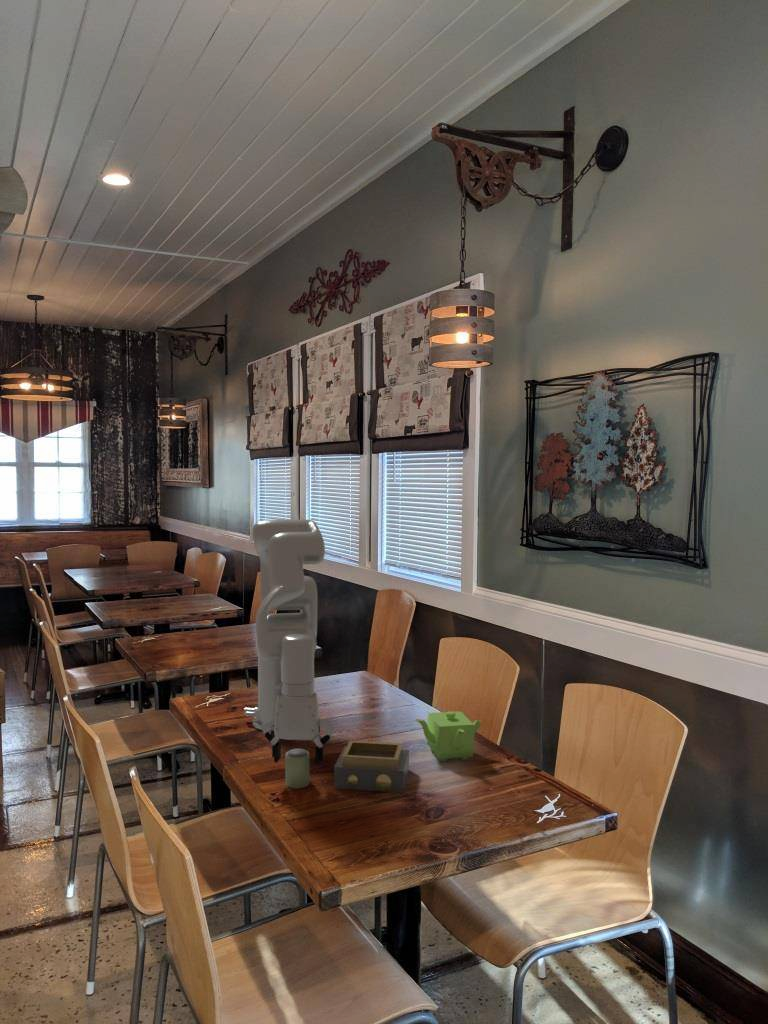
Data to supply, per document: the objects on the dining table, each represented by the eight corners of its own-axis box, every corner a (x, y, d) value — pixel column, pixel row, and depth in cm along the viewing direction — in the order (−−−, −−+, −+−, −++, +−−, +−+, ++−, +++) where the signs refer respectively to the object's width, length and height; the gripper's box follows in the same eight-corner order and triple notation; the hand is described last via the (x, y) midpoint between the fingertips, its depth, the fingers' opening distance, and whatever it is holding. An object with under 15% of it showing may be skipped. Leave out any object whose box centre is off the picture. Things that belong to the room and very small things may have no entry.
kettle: (462, 771, 183) (463, 726, 182) (411, 759, 190) (412, 716, 189) (487, 751, 196) (487, 709, 195) (438, 741, 203) (438, 700, 202)
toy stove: (333, 790, 171) (333, 760, 171) (344, 765, 185) (344, 738, 185) (402, 795, 169) (403, 764, 169) (409, 770, 183) (409, 741, 183)
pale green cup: (282, 787, 173) (282, 755, 172) (290, 774, 180) (290, 744, 180) (306, 789, 172) (306, 757, 172) (313, 775, 180) (313, 745, 179)
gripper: (256, 691, 171) (256, 765, 172) (331, 694, 169) (331, 769, 170) (265, 682, 179) (266, 753, 179) (337, 685, 176) (337, 757, 177)
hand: (297, 761), depth 174 cm, fingers open, 9 cm apart
